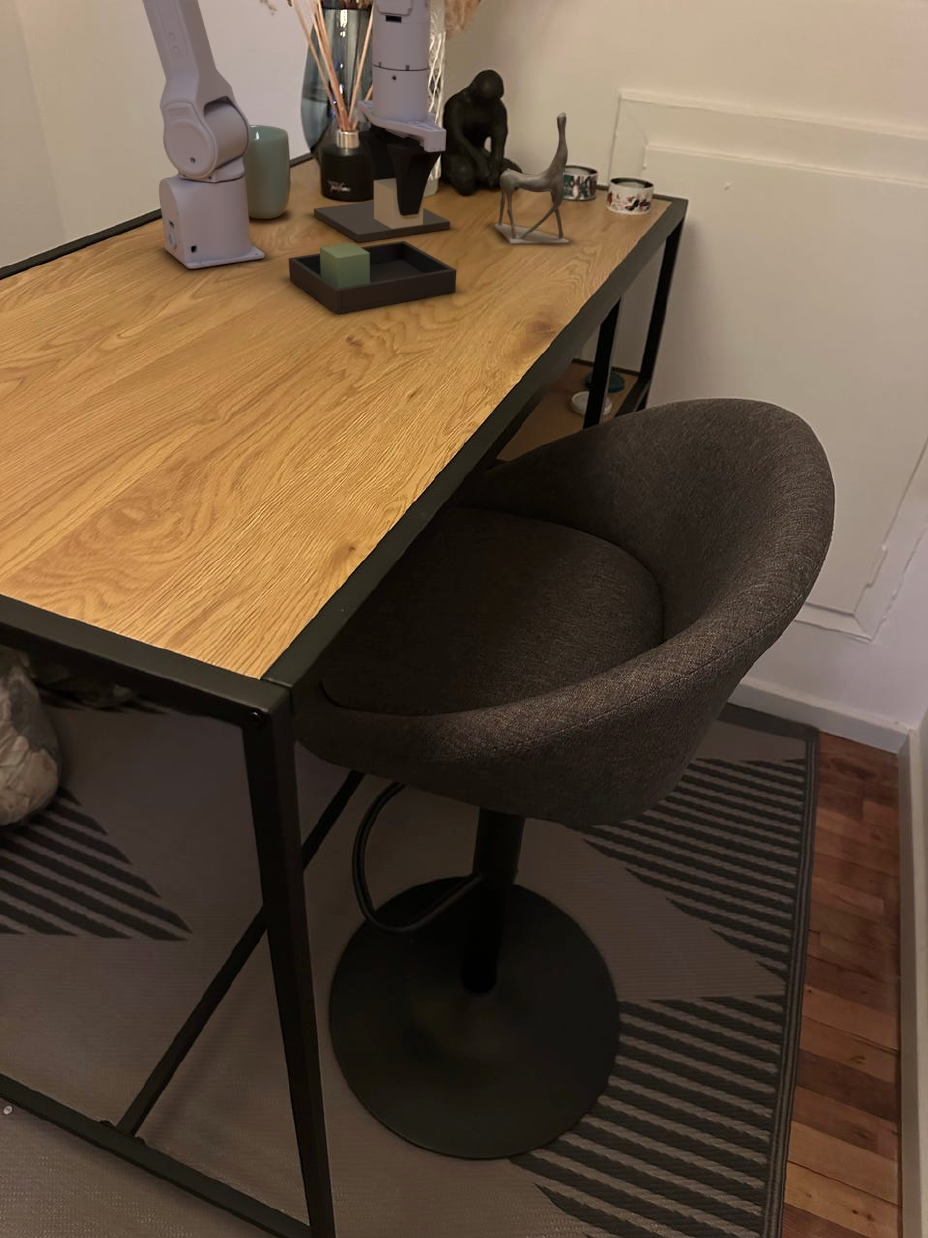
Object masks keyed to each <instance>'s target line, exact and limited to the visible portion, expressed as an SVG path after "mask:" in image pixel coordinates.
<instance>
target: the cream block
mask: <svg viewBox="0 0 928 1238" xmlns="http://www.w3.org/2000/svg"><path fill="white" fill-rule="evenodd" d="M424 196H425V194H424V195H423V198H422V202H421V206H420V210H419V213H418V214H414V215H406V216H402V215H401V214H400V212H399V207H398V200H397V185H396V178H392V179H383V180H374V179H373V201H374V219H375V220H377V221H379V222H381V223H383V224H384V225H386V226H388V227H390V228H391V229H395V228H403V227H410V226H417V225H423V208H424V199H425V198H424Z"/></svg>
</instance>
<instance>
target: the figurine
mask: <svg viewBox="0 0 928 1238" xmlns="http://www.w3.org/2000/svg"><path fill="white" fill-rule="evenodd" d="M567 121H568V120H567V113H565V112H561V113H560V114H559V115H557V117H556V126H557V131H558V143H557V147H556V148H557V149H556V152H555V154H554V156H553V159H552V161H551V163H550V165H549V166H548V167H547V168H546V169H545V170H544V171H542V172H539V173H532V174H530V173H529V174H525V173H521V172H518V171H516V170H513V169H510V168H506V170H505V171H503V172H502V173H501V175H500V177H499V187H500V191H501V199H500V203H499V204H500V207H499V217H498V222H496V223H495V225H493V227H494V229H495V230H497V231H498V232H499V233H501V234H502V235H503V236H504V238H505V239H506V240H507V242H508V243H509V244H512V245H552V244H569V240H568V239H566V238H564V231H563V225H562V218H561V213H560V209H559V208H560V206H561V205H562V203H563V201H564V197H565V180H564V176H565V175H564V174H565V170H566V165H567V163H568V157H569V150H568V145H567V139H566V128H567V127H566V126H567ZM516 188H520V189H523V190H525V191H528V192H532V193H546V192H547V193H548V192H549V193H550V195H551V201H552V206H551V208H550V209H549V211H548V212H546V214H545V215H543V217H542V218H541V219H540V220H538V221H537V222H536V223H535V224H534V225H533V226H531V227H530V228H528V227H523V226H518V225H515V221H514V215H513V214H514V213H513V205H512V203H513V195H514V192H515V190H516ZM506 203H507V208H506V213H507V216H508V219H509V222H510V224H507V223H503V218H504V211H505V204H506ZM552 214H555V217H556V224H557V228H558V229H557V230H558V236H557V235H553V234H549V233H547V232H543V231H540V230H536V229H537V228H538V227H540V225H542V224H543V223H544V222H545V221H547V219H548V218H549V217H550V216H551V215H552Z"/></svg>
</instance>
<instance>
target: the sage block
mask: <svg viewBox="0 0 928 1238" xmlns="http://www.w3.org/2000/svg"><path fill="white" fill-rule="evenodd" d="M361 247H362V246H359V245H357V244H356V243H354V242H353V241H350V242H343V243H337V244H330V245H324V246H319V253H320V265H321V277H323V278H324V279H325V280H327V281H328V282H330V283H331V284H333V285H334V286H336V287H337V288H344V287H350V286H356V285H362V284H367V283H370V253H369V252H367V251H365V250H364V249H362V248H361Z"/></svg>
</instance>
